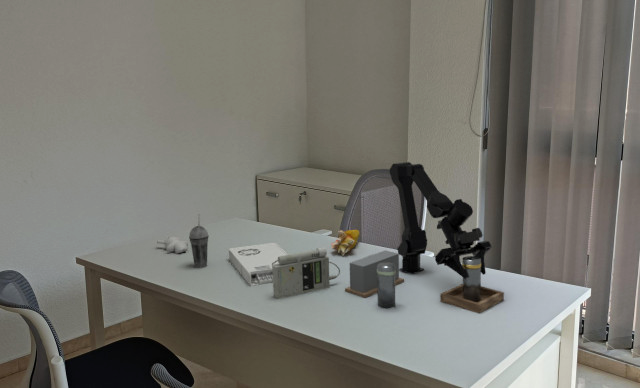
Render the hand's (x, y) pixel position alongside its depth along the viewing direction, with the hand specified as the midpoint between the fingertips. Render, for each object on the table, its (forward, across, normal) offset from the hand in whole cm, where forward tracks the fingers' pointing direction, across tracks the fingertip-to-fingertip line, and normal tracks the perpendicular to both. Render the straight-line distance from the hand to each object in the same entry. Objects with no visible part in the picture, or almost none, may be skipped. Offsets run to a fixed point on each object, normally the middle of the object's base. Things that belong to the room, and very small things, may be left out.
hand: (475, 276), depth 202 cm
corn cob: (-44, -6, +57) cm, 72 cm away
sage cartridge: (-2, -25, +15) cm, 29 cm away
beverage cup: (-50, -65, +63) cm, 104 cm away
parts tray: (+5, 0, +7) cm, 9 cm away
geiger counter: (-20, -40, +32) cm, 55 cm away
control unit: (-14, -20, +26) cm, 35 cm away
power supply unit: (-39, -45, +53) cm, 80 cm away
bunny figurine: (-69, -69, +82) cm, 128 cm away
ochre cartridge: (+5, 0, +7) cm, 8 cm away
